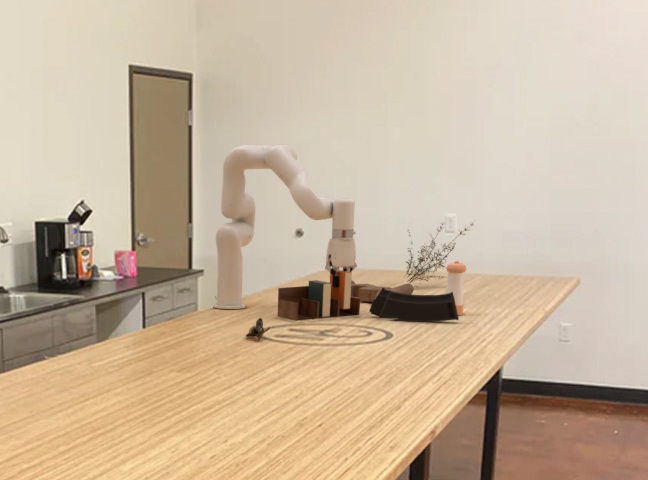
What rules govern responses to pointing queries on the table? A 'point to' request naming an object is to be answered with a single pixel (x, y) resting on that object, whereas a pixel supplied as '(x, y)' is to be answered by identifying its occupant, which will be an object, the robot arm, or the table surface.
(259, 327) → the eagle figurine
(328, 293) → the green book
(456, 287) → the pepper shaker
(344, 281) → the orange book
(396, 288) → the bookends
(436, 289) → the table surface
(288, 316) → the book rack
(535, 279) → the table surface
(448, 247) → the dried plant
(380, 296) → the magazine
